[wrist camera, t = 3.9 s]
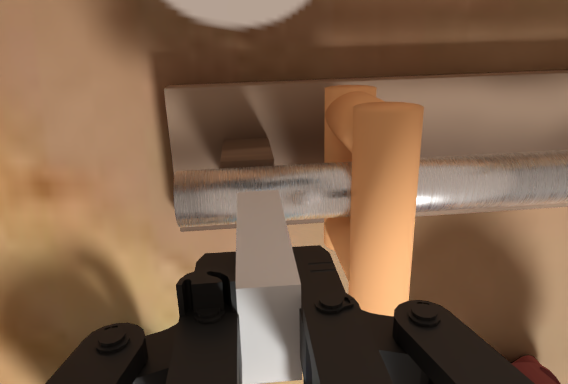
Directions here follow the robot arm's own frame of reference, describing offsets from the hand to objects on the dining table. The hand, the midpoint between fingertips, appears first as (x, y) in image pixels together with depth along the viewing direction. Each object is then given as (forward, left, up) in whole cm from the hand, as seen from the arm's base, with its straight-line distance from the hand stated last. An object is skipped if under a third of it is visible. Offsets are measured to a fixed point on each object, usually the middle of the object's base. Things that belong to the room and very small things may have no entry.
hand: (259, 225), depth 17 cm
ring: (0, +5, -7) cm, 8 cm away
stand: (0, +12, -10) cm, 15 cm away
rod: (0, +12, -4) cm, 12 cm away
